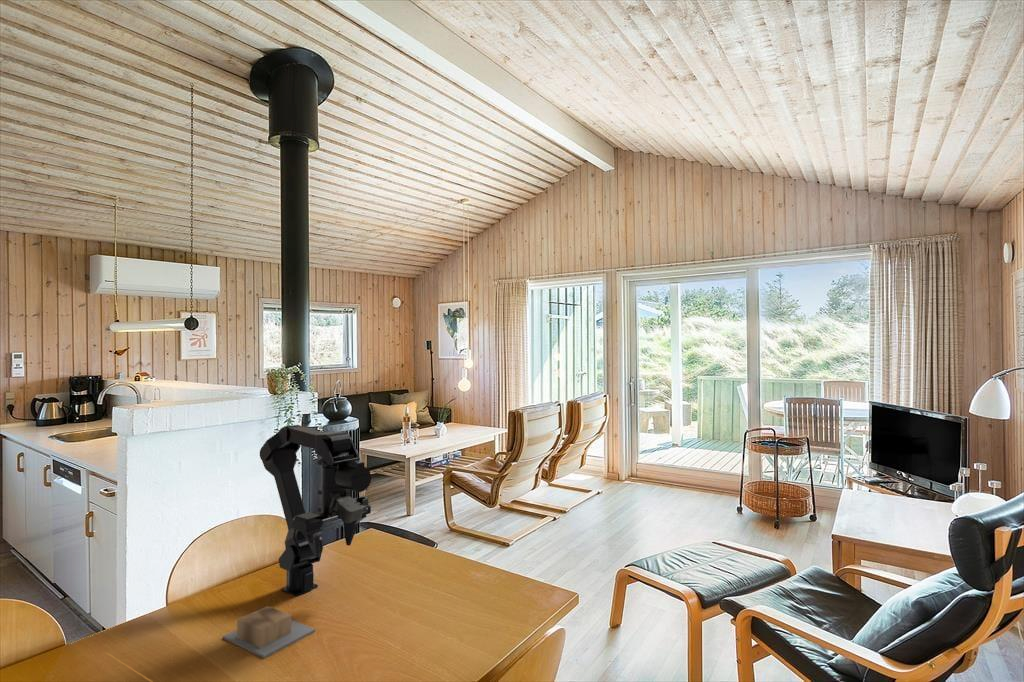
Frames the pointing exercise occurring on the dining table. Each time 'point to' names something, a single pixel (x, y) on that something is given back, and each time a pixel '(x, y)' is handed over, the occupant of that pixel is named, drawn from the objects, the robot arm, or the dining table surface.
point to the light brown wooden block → (264, 626)
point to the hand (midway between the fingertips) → (332, 550)
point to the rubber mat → (296, 634)
